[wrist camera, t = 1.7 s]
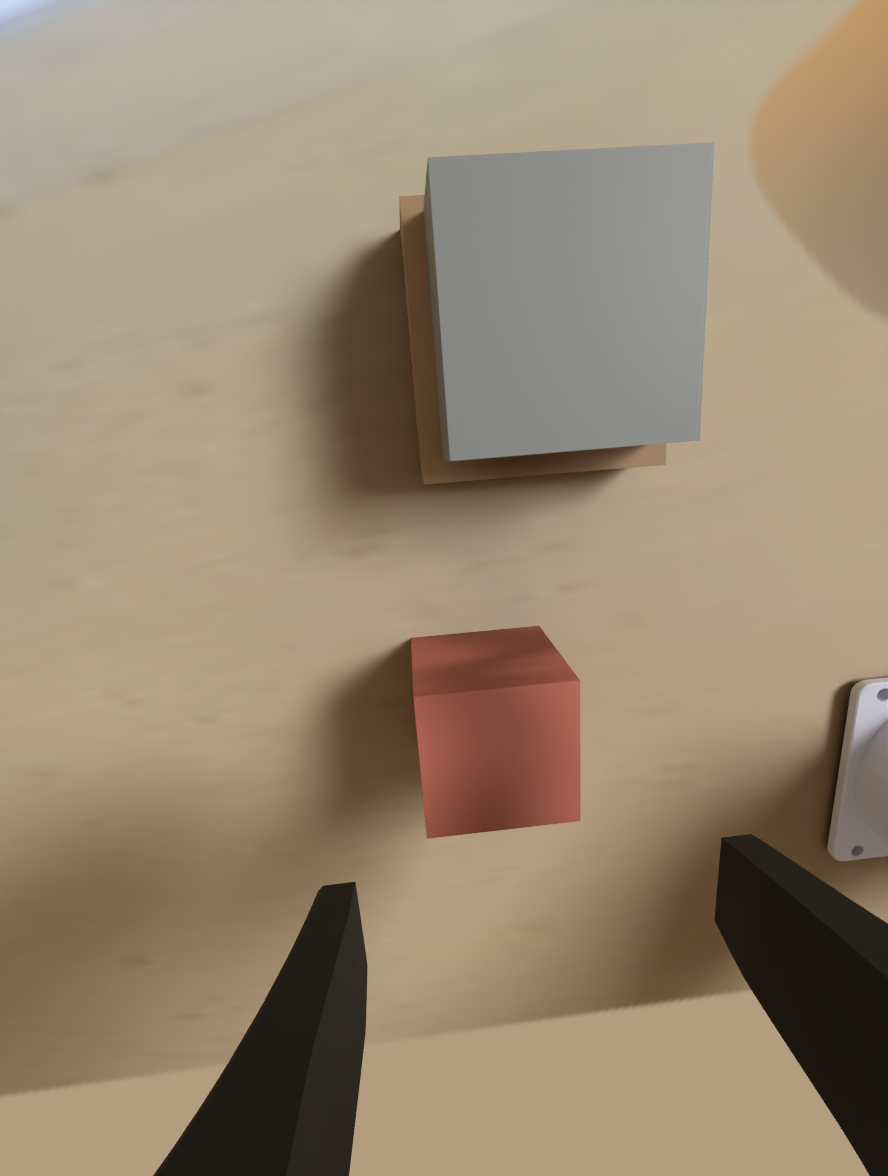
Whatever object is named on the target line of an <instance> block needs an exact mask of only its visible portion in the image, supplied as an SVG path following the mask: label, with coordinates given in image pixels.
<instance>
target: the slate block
mask: <svg viewBox="0 0 888 1176" xmlns="http://www.w3.org/2000/svg"><path fill="white" fill-rule="evenodd" d="M713 159H714V143H696V144H677V145H658V146H639V147H620V148H601V149H582V150H563V151H544V152H525V153H506V154H487V155H468V156H449V157H430V158H428V163H427V174H426V185H425V197H424V208H423V214H424V227H425V240H426V253H427V266H428V279H429V292H430V305H431V318H432V331H433V344H434V357H435V370H436V383H437V396H438V408H439V421H440V434H441V447H442V459H445V460H448V461H459V460H471V459H483V458H495V457H507V456H519V455H531V454H543V453H555V452H567V451H579V450H591V449H603V448H615V447H627V446H639V445H651V444H663V443H675V442H687V441H699V440H700V423H701V403H702V382H703V362H704V342H705V321H706V301H707V281H708V260H709V240H710V220H711V199H712V179H713Z"/></svg>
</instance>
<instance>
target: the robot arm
mask: <svg viewBox="0 0 888 1176" xmlns="http://www.w3.org/2000/svg"><path fill="white" fill-rule="evenodd" d="M880 690H881V691H880ZM879 691H880V693H879V694H878V692H879ZM877 694H878V695H877ZM827 849H828V852H829V854H830V855H831V856H832V857H833V858H834V859H835V860H838V861H851V860H859V859H867V858H876V857H884V856H888V678H878V679H869V680H863V681H860V682H858V683H857V684H855V685H854V687H853V688H852V690H851V693H850V700H849V707H848V713H847V720H846V727H845V733H844V740H843V747H842V753H841V760H840V767H839V773H838V780H837V787H836V793H835V800H834V807H833V813H832V820H831V827H830V833H829V840H828V847H827ZM715 922H716V924H717V926H718V928H719V930H720V932H721V934H722V936H723V938H724V940H725V942H726V944H727V946H728V948H729V950H730V952H731V954H732V956H733V958H734V960H735V962H736V964H737V965H738V967H739V969H740V971H741V973H742V975H743V977H744V979H745V980H746V982H747V983H748V985H749V987H750V988H751V990H752V991H753V993H754V995H755V996H756V997H757V999H758V1001H759V1002H760V1004H761V1005H762V1007H763V1009H764V1010H765V1012H766V1013H767V1015H768V1016H769V1018H770V1020H771V1021H772V1023H773V1024H774V1026H775V1027H776V1029H777V1030H778V1032H779V1033H780V1035H781V1036H782V1038H783V1040H784V1041H785V1042H786V1044H787V1046H788V1047H789V1049H790V1050H791V1052H792V1053H793V1055H794V1056H795V1058H796V1059H797V1061H798V1063H799V1064H800V1065H801V1067H802V1068H803V1070H804V1072H805V1073H806V1075H807V1076H808V1078H809V1079H810V1081H811V1082H812V1084H813V1085H814V1087H815V1089H816V1090H817V1092H818V1093H819V1094H820V1096H821V1098H822V1099H823V1101H824V1102H825V1104H826V1106H827V1107H828V1109H829V1110H830V1112H831V1113H832V1115H833V1116H834V1118H835V1119H836V1121H837V1122H838V1124H839V1125H840V1127H841V1129H842V1130H843V1132H844V1134H845V1135H846V1137H847V1138H848V1140H849V1142H850V1143H851V1145H852V1147H853V1148H854V1150H855V1151H856V1153H857V1155H858V1156H859V1158H860V1160H861V1161H862V1163H863V1165H864V1166H865V1168H866V1170H867V1172H868V1173H869V1175H870V1176H888V924H887V923H886V922H884V921H883V920H881V919H880V918H878V917H876V916H875V915H873V914H872V913H870V912H869V911H867V910H866V909H864V908H863V907H861V906H859V905H858V904H856V903H855V902H853V901H852V900H850V899H849V898H847V897H846V896H844V895H843V894H841V893H840V892H838V891H837V890H835V889H834V888H832V887H831V886H829V885H828V884H826V883H825V882H823V881H822V880H820V879H819V878H817V877H816V876H814V875H813V874H811V873H810V872H808V871H807V870H805V869H804V868H802V867H801V866H799V865H798V864H796V863H795V862H793V861H792V860H790V859H789V858H787V857H786V856H784V855H783V854H781V853H780V852H778V851H777V850H775V849H774V848H772V847H771V846H769V845H768V844H766V843H765V842H763V841H761V840H760V839H758V838H757V837H755V836H753V835H752V834H749V835H741V836H732V837H724V838H722V839H721V851H720V862H719V874H718V886H717V898H716V910H715ZM366 1001H367V959H366V952H365V945H364V938H363V931H362V924H361V917H360V910H359V903H358V897H357V890H356V883H355V882H350V883H342V884H334V885H325V886H323V887H322V888H321V889H320V890H319V891H318V893H317V895H316V897H315V900H314V902H313V905H312V907H311V909H310V911H309V914H308V916H307V918H306V920H305V922H304V925H303V927H302V929H301V931H300V933H299V935H298V937H297V939H296V941H295V943H294V945H293V947H292V949H291V951H290V953H289V955H288V957H287V959H286V961H285V963H284V965H283V967H282V969H281V971H280V973H279V974H278V976H277V978H276V980H275V982H274V984H273V986H272V988H271V990H270V991H269V993H268V995H267V997H266V999H265V1001H264V1003H263V1004H262V1006H261V1008H260V1010H259V1012H258V1013H257V1015H256V1017H255V1018H254V1020H253V1022H252V1024H251V1025H250V1027H249V1029H248V1030H247V1032H246V1034H245V1035H244V1037H243V1039H242V1041H241V1042H240V1044H239V1046H238V1047H237V1049H236V1051H235V1052H234V1054H233V1056H232V1058H231V1059H230V1061H229V1063H228V1064H227V1066H226V1068H225V1069H224V1071H223V1072H222V1074H221V1076H220V1077H219V1079H218V1080H217V1082H216V1084H215V1085H214V1087H213V1088H212V1090H211V1091H210V1093H209V1095H208V1096H207V1098H206V1099H205V1101H204V1103H203V1104H202V1105H201V1107H200V1108H199V1110H198V1112H197V1113H196V1114H195V1116H194V1117H193V1119H192V1120H191V1122H190V1123H189V1125H188V1126H187V1128H186V1129H185V1131H184V1132H183V1134H182V1136H181V1137H180V1138H179V1140H178V1141H177V1143H176V1144H175V1146H174V1147H173V1149H172V1150H171V1152H170V1153H169V1154H168V1156H167V1157H166V1159H165V1160H164V1161H163V1163H162V1164H161V1166H160V1167H159V1168H158V1170H157V1171H156V1173H155V1174H154V1175H153V1176H349V1170H350V1161H351V1153H352V1144H353V1136H354V1127H355V1118H356V1110H357V1101H358V1093H359V1084H360V1075H361V1066H362V1058H363V1049H364V1040H365V1031H366Z"/></svg>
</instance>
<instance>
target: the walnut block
mask: <svg viewBox="0 0 888 1176" xmlns="http://www.w3.org/2000/svg"><path fill="white" fill-rule="evenodd" d="M424 197H425V195H417V196H400V236H401V248H402V259H403V271H404V283H405V295H406V306H407V318H408V330H409V341H410V353H411V365H412V376H413V388H414V400H415V412H416V423H417V435H418V447H419V458H420V470H421V480H422V482H423V484H424V485H426V484H438V483H450V482H462V481H474V480H487V479H499V478H511V477H523V476H535V475H547V474H559V473H571V472H583V471H596V470H608V469H620V468H632V467H644V466H656V465H665V460H666V443H663V444H651V445H639V446H627V447H615V448H603V449H591V450H579V451H567V452H555V453H543V454H531V455H519V456H507V457H495V458H483V459H471V460H459V461H448V460H445V459H442V447H441V434H440V421H439V408H438V396H437V383H436V370H435V357H434V344H433V331H432V318H431V305H430V292H429V279H428V266H427V253H426V240H425V227H424V214H423V208H424Z"/></svg>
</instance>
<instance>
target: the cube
mask: <svg viewBox="0 0 888 1176" xmlns="http://www.w3.org/2000/svg"><path fill="white" fill-rule="evenodd" d="M411 651H412V675H413V698H414V708H415V719H416V729H417V739H418V750H419V760H420V771H421V781H422V791H423V802H424V812H425V822H426V833H427V838H436V837H444V836H453V835H462V834H471V833H479V832H488V831H497V830H505V829H514V828H523V827H531V826H540V825H549V824H557V823H566V822H575V821H580V680H579V679H578V677H577V676H576V675H575V673H574V672H573V671H572V669H571V668H570V667H569V665H568V664H567V663H566V661H565V660H564V659H563V657H562V656H561V655H560V653H559V652H558V651H557V649H556V648H555V647H554V645H553V644H552V643H551V641H550V640H549V639H548V637H547V636H546V635H545V633H544V632H543V631H542V629H541V628H540V627H539V626H533V627H522V628H512V629H501V630H490V631H480V632H469V633H459V634H448V635H438V636H427V637H416V638H411Z"/></svg>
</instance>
